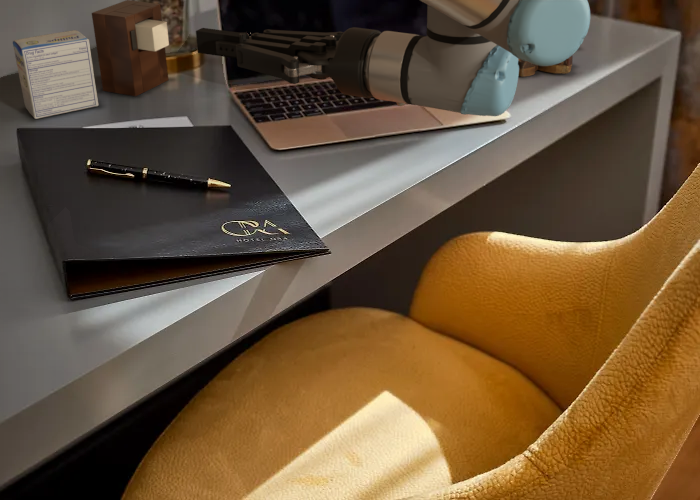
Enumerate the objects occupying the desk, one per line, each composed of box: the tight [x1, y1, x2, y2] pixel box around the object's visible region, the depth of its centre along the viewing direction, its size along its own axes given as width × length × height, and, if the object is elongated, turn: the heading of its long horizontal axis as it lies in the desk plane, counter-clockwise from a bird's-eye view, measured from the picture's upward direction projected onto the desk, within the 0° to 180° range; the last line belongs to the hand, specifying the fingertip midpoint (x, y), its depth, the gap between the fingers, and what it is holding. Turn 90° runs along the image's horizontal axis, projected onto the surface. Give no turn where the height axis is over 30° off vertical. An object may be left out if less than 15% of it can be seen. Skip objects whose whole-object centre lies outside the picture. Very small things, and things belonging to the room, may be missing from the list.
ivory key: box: [135, 19, 170, 51], centre depth 114 cm, size 3×3×3 cm
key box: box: [91, 0, 169, 97], centre depth 116 cm, size 5×7×10 cm
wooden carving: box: [518, 55, 574, 77], centre depth 124 cm, size 16×5×10 cm
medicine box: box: [12, 29, 99, 120], centre depth 109 cm, size 8×4×9 cm, turn 122°
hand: (200, 40), depth 111 cm, fingers closed
